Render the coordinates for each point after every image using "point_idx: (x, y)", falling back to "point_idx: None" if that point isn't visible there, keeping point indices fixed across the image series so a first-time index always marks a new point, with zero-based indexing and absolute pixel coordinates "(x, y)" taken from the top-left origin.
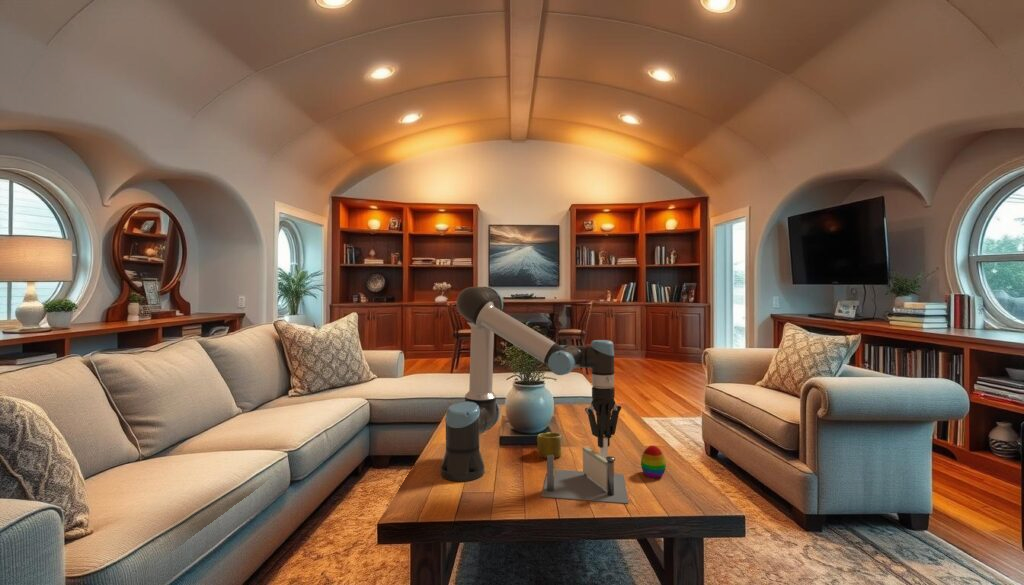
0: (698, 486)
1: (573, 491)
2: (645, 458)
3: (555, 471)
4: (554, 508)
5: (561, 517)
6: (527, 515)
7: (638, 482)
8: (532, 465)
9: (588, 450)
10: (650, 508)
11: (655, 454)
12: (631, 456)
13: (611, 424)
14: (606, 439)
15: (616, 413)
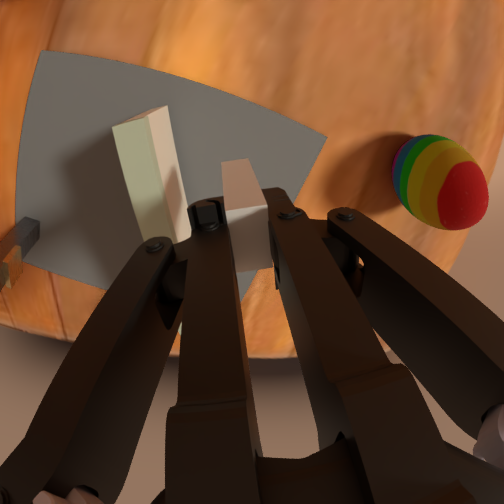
0: (443, 257)
1: (91, 245)
2: (422, 200)
3: (16, 273)
4: (52, 309)
5: (70, 339)
6: (15, 320)
7: (338, 206)
8: (11, 17)
9: (135, 195)
10: (270, 337)
11: (451, 229)
12: (433, 5)
13: (375, 296)
14: (260, 262)
15: (458, 414)
